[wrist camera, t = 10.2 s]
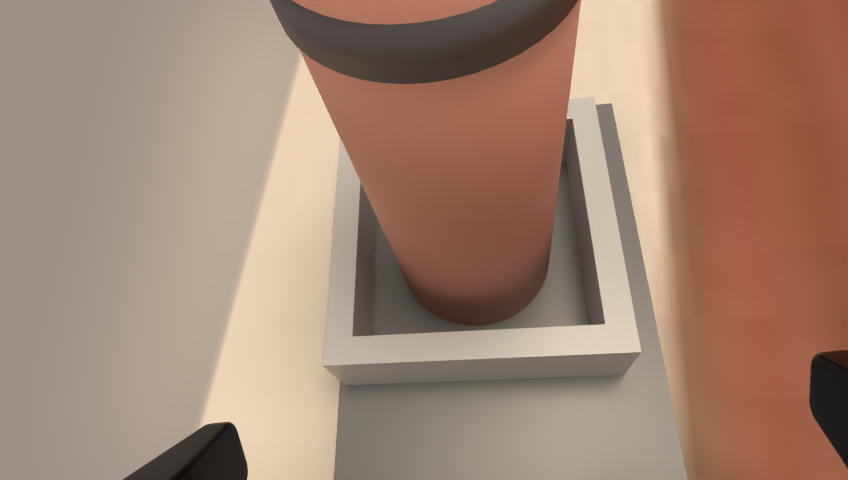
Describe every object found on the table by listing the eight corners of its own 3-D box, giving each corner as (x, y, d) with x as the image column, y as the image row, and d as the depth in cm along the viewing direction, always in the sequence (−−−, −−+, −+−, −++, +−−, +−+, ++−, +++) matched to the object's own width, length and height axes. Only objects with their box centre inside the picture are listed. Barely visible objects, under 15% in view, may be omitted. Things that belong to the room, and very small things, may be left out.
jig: (717, 688, 14) (775, 733, 11) (332, 677, 15) (287, 716, 12) (607, 120, 22) (623, 54, 19) (361, 142, 24) (338, 84, 20)
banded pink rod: (560, 325, 18) (656, -123, 5) (399, 332, 19) (160, -51, 6) (544, 185, 20) (587, -349, 8) (401, 196, 21) (232, -280, 8)
